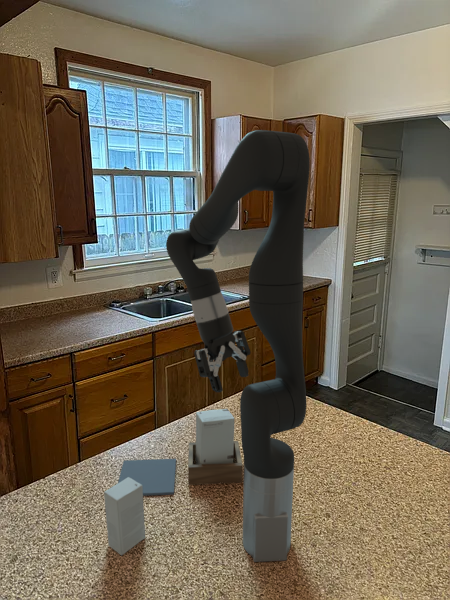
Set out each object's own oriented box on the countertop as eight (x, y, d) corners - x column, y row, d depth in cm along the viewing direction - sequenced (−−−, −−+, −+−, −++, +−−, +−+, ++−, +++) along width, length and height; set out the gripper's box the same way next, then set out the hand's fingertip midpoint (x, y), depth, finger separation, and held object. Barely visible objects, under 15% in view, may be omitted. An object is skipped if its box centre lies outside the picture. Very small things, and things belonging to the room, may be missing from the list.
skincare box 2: (200, 480, 106) (200, 423, 102) (194, 466, 111) (194, 411, 108) (234, 474, 108) (235, 417, 104) (227, 460, 114) (227, 406, 110)
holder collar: (242, 482, 105) (242, 465, 104) (188, 484, 104) (188, 467, 103) (238, 456, 115) (238, 440, 114) (189, 458, 114) (188, 442, 113)
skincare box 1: (131, 528, 91) (129, 475, 88) (146, 538, 88) (143, 484, 85) (106, 545, 86) (103, 491, 83) (120, 557, 83) (117, 501, 81)
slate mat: (173, 494, 101) (173, 492, 101) (115, 496, 100) (114, 494, 100) (176, 460, 113) (176, 458, 113) (123, 462, 112) (123, 460, 112)
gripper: (199, 324, 92) (221, 398, 94) (244, 304, 102) (264, 371, 104) (177, 327, 98) (199, 396, 100) (222, 308, 107) (241, 371, 109)
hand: (232, 383), depth 102 cm, fingers open, 8 cm apart
